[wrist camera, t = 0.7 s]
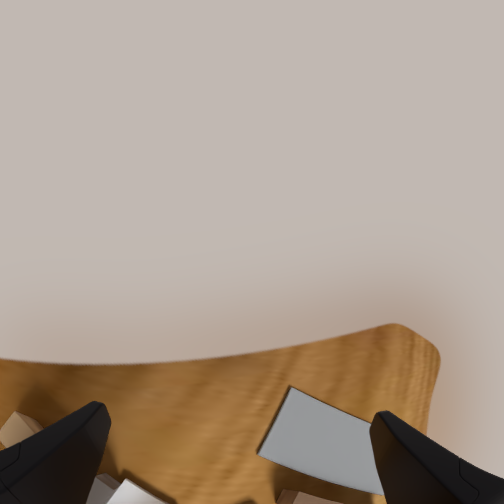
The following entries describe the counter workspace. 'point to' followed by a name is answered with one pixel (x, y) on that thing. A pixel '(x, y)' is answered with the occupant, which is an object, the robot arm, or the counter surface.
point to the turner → (104, 486)
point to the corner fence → (300, 498)
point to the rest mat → (322, 443)
